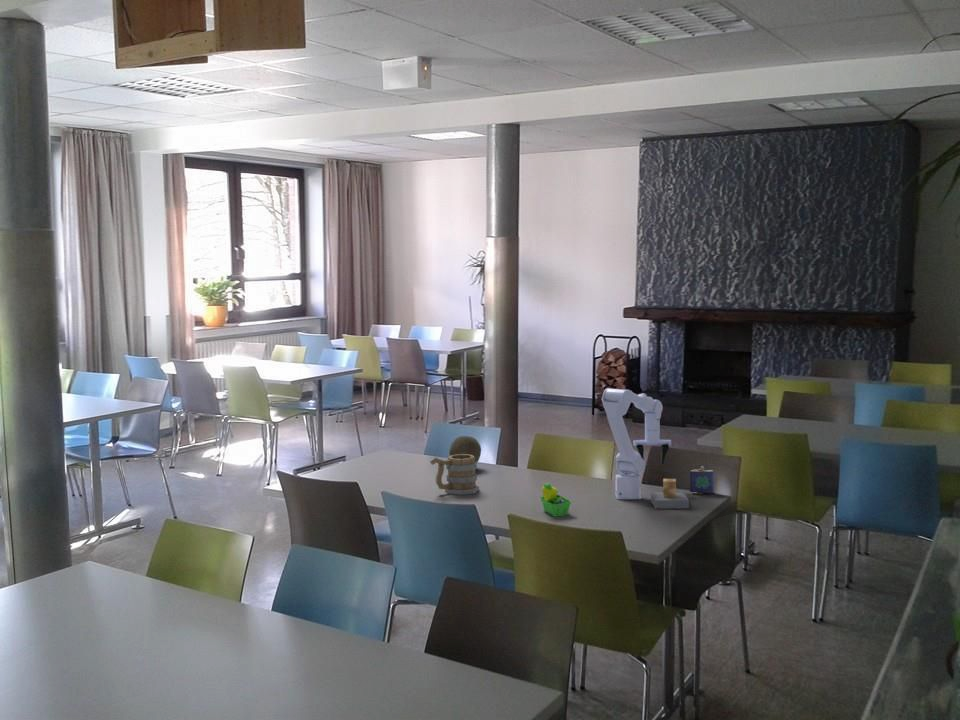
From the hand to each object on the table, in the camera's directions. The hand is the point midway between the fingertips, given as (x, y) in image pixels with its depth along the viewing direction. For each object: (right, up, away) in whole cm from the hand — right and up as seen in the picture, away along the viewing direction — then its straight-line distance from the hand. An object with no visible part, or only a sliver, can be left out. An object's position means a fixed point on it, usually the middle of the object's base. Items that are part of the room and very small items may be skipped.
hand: (652, 463), depth 348 cm
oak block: (+2, -9, -22) cm, 24 cm away
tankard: (-79, -12, +4) cm, 80 cm away
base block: (+2, -13, -22) cm, 25 cm away
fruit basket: (-41, -15, -31) cm, 54 cm away
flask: (+18, -11, -7) cm, 22 cm away
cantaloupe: (-75, -8, +45) cm, 87 cm away
